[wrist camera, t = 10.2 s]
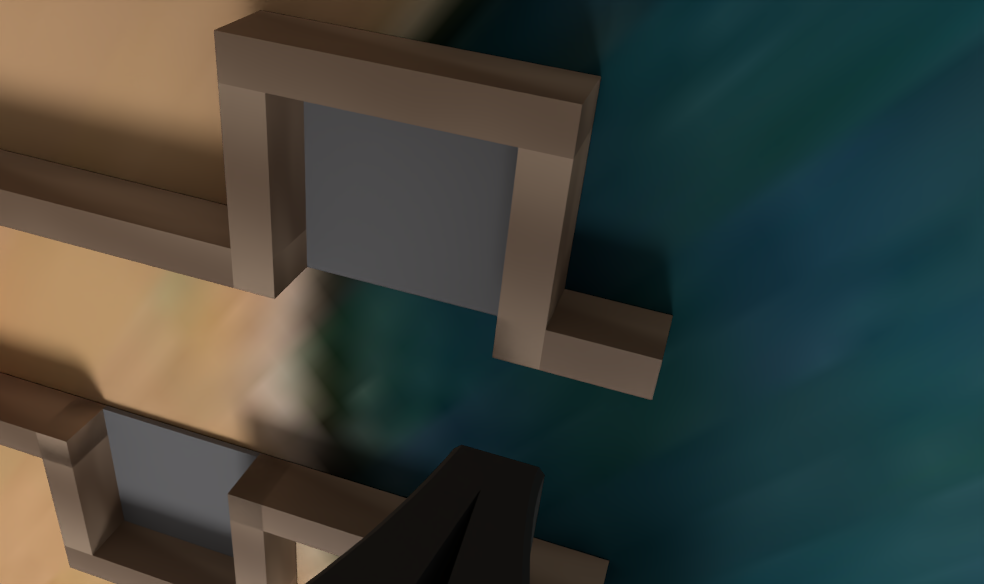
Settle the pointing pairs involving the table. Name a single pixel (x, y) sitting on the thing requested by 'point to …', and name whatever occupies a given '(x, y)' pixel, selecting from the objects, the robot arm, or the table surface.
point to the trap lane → (335, 249)
